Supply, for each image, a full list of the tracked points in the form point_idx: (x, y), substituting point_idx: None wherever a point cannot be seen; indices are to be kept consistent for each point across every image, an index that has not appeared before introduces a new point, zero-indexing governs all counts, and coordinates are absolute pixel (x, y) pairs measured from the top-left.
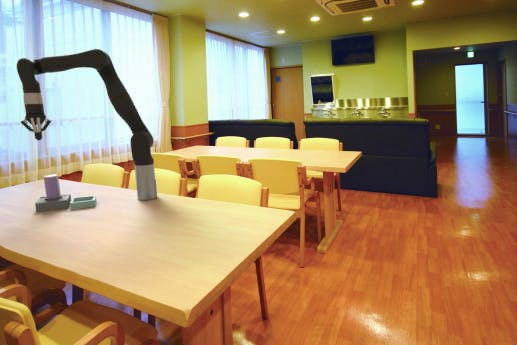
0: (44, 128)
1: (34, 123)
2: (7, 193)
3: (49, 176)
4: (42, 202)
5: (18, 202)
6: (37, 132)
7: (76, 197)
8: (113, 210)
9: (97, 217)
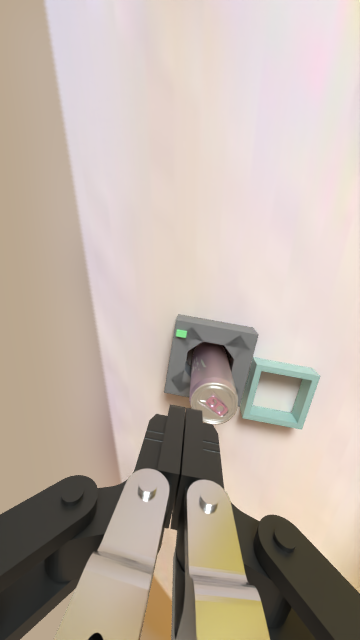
0: (283, 632)
1: None
2: (56, 12)
3: (209, 414)
4: (181, 393)
5: (116, 231)
6: (168, 517)
7: (267, 366)
8: (319, 474)
9: (276, 499)
